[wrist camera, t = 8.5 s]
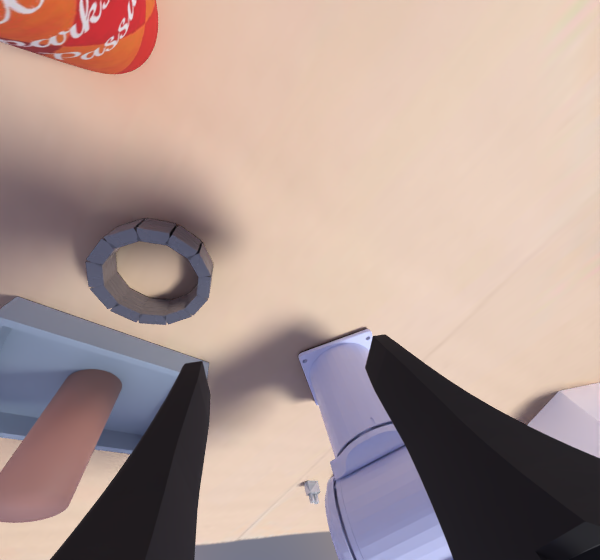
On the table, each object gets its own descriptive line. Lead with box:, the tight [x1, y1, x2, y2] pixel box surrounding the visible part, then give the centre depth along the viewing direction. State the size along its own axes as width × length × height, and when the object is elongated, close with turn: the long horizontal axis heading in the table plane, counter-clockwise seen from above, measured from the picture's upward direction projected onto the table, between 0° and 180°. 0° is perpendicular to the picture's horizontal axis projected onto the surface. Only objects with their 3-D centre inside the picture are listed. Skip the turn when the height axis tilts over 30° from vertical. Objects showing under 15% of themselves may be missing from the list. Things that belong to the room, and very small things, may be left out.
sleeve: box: [86, 218, 213, 325], centre depth 17 cm, size 7×7×2 cm
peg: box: [0, 369, 122, 523], centre depth 17 cm, size 4×4×8 cm
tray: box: [0, 296, 209, 454], centre depth 20 cm, size 14×12×2 cm
